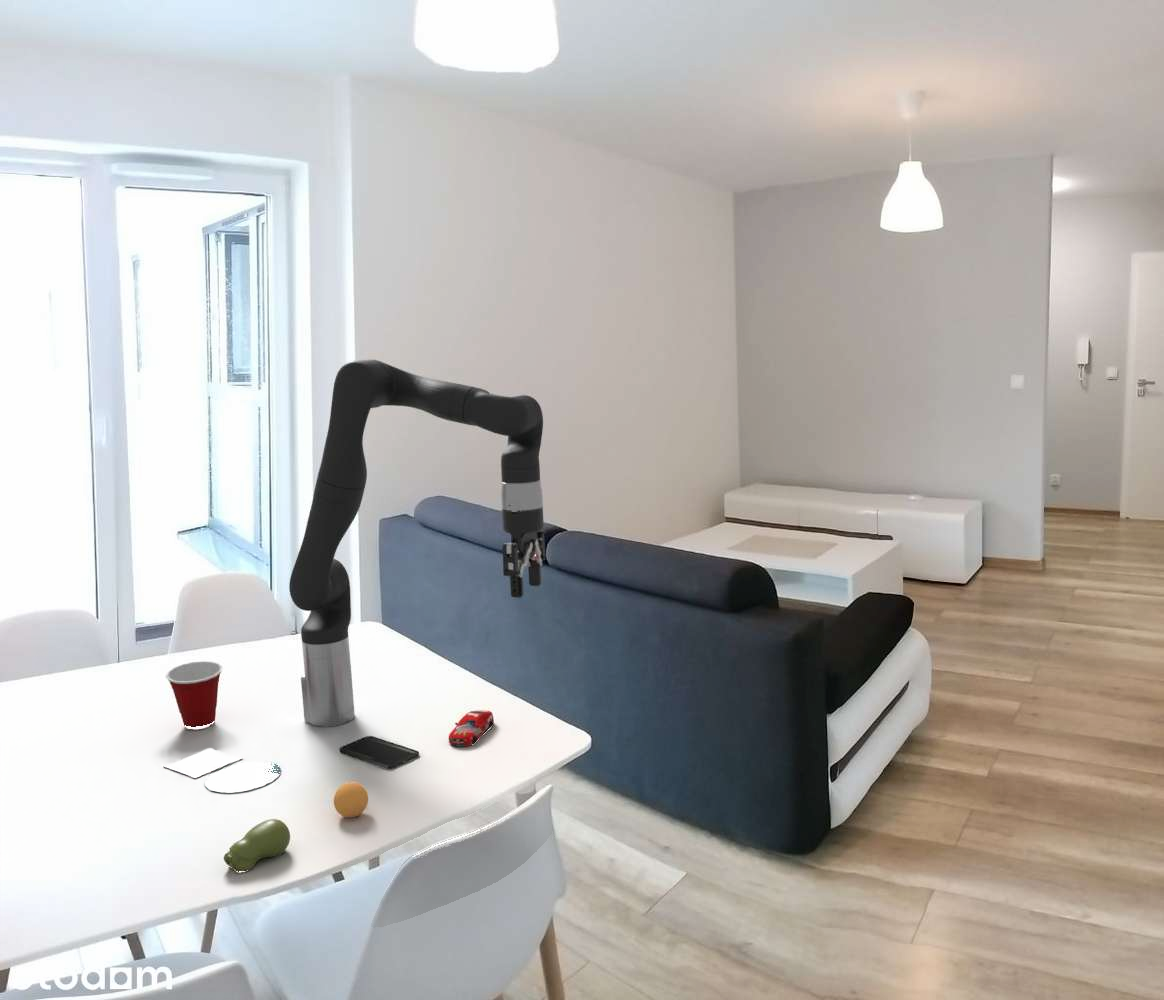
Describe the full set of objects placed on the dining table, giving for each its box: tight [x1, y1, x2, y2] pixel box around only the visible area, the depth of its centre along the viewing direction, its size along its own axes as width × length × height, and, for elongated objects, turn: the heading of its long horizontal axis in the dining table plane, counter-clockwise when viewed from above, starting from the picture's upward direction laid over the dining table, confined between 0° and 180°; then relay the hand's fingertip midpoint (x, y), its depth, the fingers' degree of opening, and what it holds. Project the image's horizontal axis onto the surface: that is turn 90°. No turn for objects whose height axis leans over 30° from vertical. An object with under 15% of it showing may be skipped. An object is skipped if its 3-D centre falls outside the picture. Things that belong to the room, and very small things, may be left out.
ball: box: [333, 781, 369, 818], centre depth 162 cm, size 6×6×6 cm
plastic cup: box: [165, 660, 223, 727], centre depth 203 cm, size 11×11×12 cm
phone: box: [338, 735, 420, 770], centre depth 186 cm, size 8×1×15 cm
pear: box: [223, 818, 291, 872], centre depth 149 cm, size 6×5×10 cm
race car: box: [448, 709, 495, 747], centre depth 194 cm, size 13×5×4 cm, turn 161°
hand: (526, 591), depth 185 cm, fingers open, 8 cm apart
